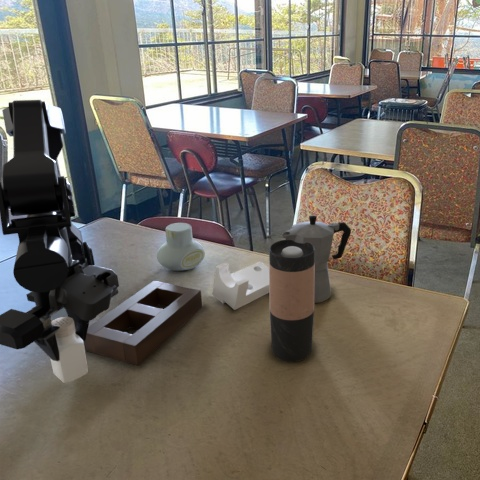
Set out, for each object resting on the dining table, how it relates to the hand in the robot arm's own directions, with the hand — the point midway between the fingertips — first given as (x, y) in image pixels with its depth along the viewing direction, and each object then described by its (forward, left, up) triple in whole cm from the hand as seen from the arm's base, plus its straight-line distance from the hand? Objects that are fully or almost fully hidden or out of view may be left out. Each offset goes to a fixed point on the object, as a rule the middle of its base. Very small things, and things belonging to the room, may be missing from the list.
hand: (69, 350), depth 73 cm
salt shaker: (0, 0, -5) cm, 5 cm away
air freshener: (-9, +42, -7) cm, 44 cm away
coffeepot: (+25, +42, -7) cm, 49 cm away
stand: (0, +17, -7) cm, 19 cm away
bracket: (+12, +36, -7) cm, 39 cm away
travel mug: (+28, +21, -7) cm, 36 cm away
